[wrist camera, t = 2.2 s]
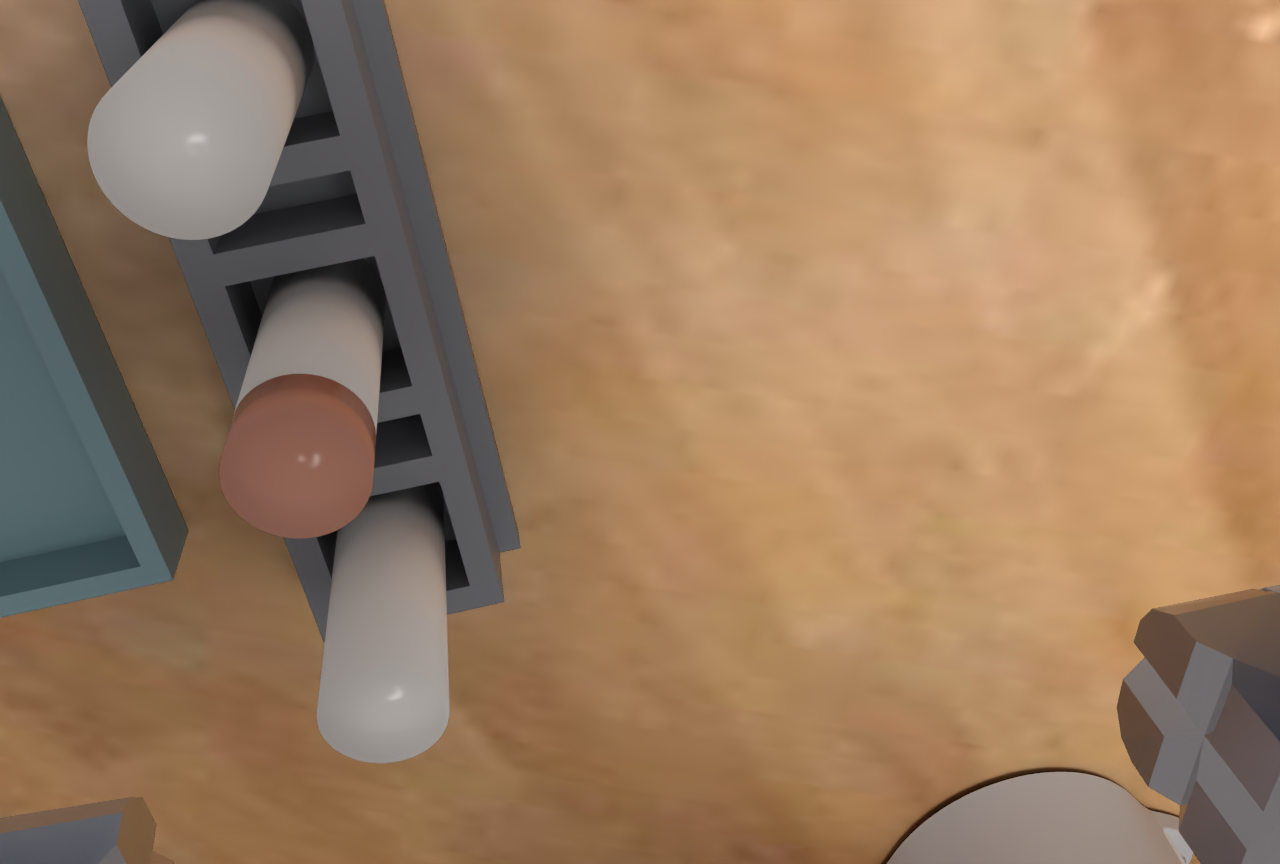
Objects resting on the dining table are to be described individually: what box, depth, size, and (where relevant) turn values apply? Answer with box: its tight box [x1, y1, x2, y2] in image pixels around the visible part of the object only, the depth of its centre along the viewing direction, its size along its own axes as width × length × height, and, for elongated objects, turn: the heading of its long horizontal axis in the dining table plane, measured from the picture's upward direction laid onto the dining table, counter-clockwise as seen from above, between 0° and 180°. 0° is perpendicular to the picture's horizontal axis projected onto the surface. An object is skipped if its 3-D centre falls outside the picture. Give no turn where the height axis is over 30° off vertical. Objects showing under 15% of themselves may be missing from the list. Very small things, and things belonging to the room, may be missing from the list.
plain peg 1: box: [87, 0, 314, 240], centre depth 29 cm, size 4×4×11 cm
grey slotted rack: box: [78, 0, 520, 642], centre depth 37 cm, size 22×8×4 cm, turn 9°
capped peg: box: [219, 258, 386, 539], centre depth 33 cm, size 4×4×11 cm
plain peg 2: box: [317, 482, 450, 763], centre depth 37 cm, size 4×4×11 cm
